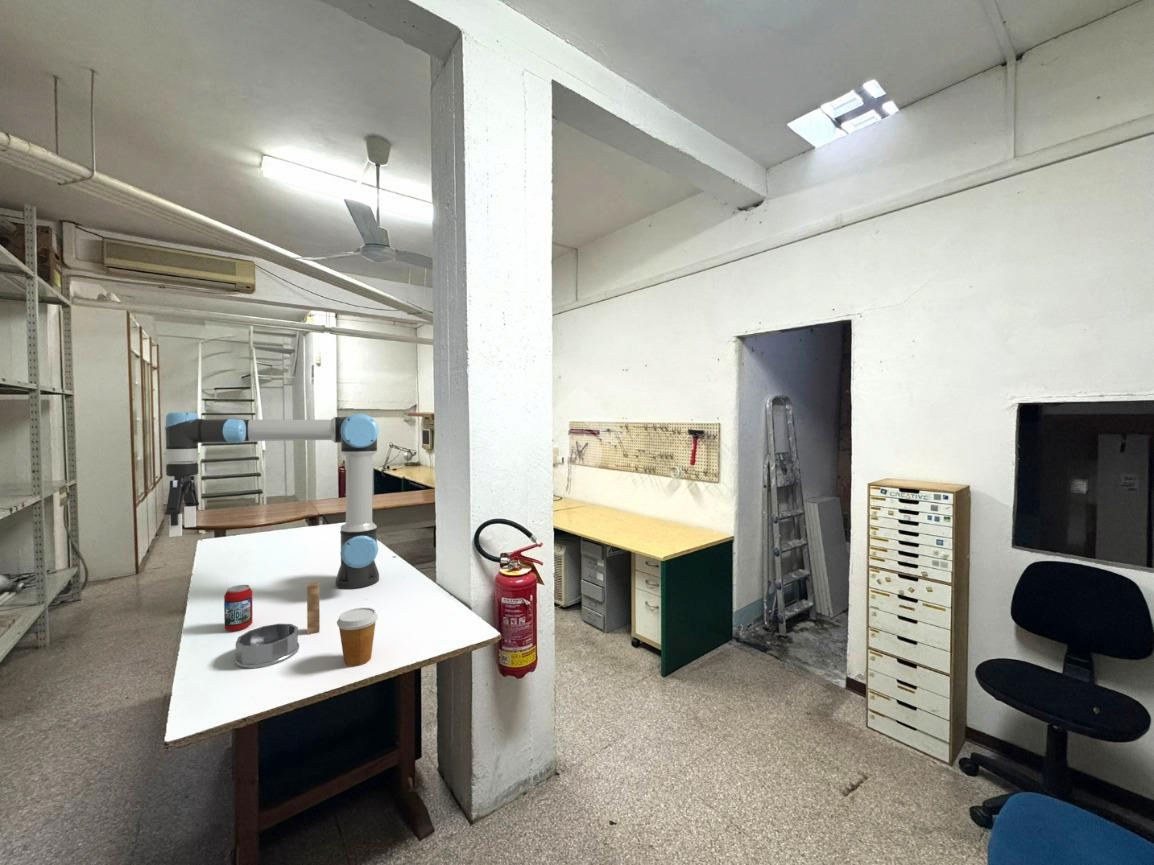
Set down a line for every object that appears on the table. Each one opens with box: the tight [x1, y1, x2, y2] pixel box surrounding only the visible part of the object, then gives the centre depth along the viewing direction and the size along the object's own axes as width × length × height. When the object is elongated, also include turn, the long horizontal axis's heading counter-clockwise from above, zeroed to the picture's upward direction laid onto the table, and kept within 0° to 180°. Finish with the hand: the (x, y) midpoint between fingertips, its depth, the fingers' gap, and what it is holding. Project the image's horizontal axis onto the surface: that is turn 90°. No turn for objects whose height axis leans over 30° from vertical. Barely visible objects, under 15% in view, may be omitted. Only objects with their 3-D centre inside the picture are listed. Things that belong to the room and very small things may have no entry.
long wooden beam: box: [306, 581, 321, 635], centre depth 133 cm, size 3×3×14 cm
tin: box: [234, 623, 300, 670], centre depth 120 cm, size 14×14×5 cm
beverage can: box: [223, 584, 253, 632], centre depth 136 cm, size 7×7×12 cm
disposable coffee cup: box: [336, 607, 379, 667], centre depth 117 cm, size 10×10×12 cm
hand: (183, 531), depth 140 cm, fingers open, 13 cm apart
